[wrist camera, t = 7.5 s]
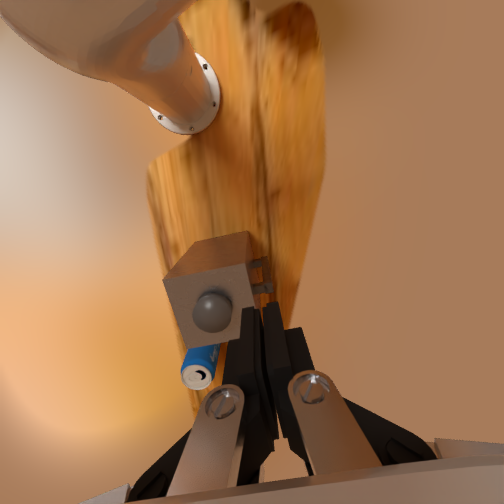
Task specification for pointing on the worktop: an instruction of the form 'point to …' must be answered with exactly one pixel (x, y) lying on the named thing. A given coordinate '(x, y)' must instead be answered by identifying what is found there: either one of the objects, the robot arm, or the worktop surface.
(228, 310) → the plunger
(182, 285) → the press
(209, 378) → the beverage can
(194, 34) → the worktop surface
